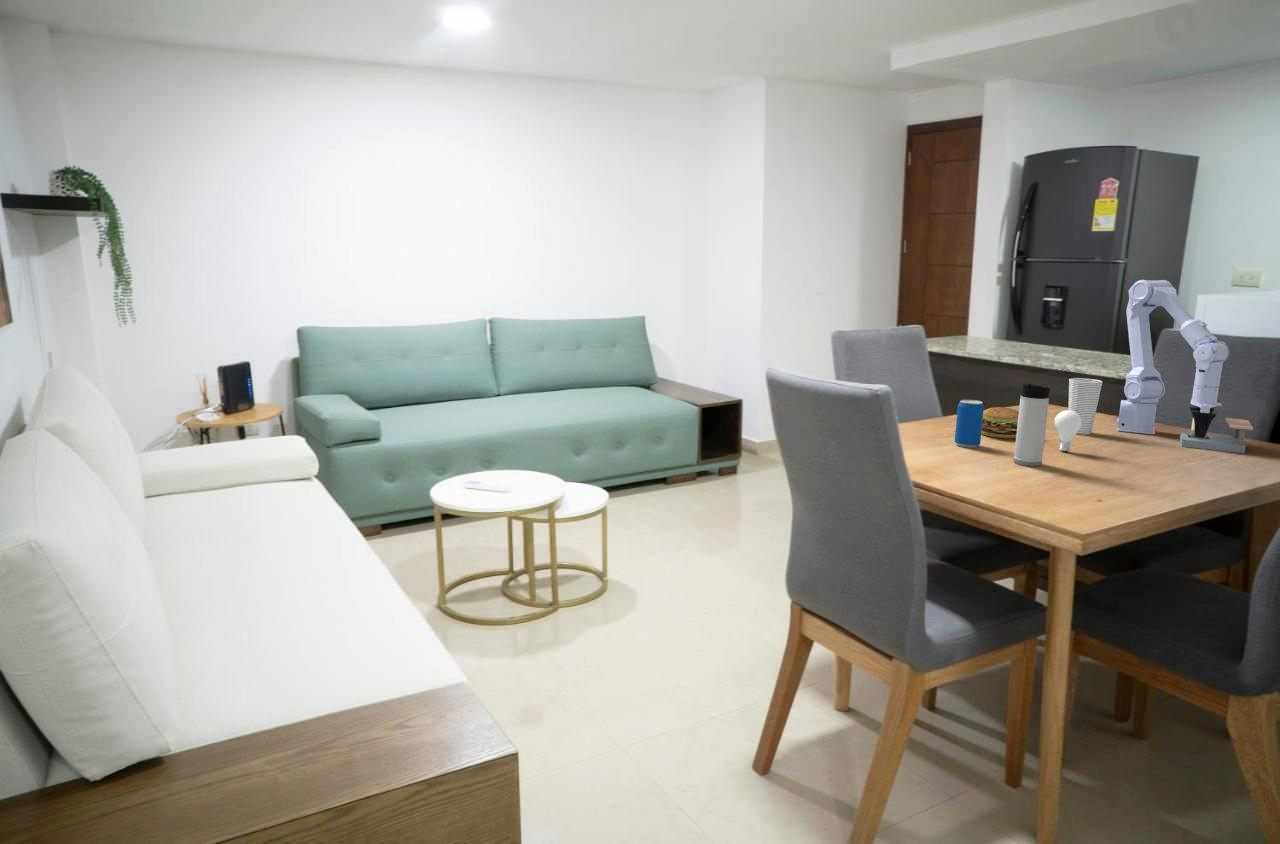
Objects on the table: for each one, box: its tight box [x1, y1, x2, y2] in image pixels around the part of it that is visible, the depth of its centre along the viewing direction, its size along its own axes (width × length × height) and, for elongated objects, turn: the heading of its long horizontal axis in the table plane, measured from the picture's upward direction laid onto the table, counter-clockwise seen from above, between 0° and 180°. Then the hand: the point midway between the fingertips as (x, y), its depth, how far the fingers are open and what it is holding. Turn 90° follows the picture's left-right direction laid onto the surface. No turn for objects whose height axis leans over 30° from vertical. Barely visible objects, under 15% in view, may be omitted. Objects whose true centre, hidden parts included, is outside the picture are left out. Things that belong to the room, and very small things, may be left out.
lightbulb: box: [1053, 409, 1082, 453], centre depth 217 cm, size 6×6×11 cm
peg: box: [1190, 417, 1208, 439], centre depth 229 cm, size 4×4×8 cm
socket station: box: [1178, 417, 1254, 454], centre depth 227 cm, size 15×13×7 cm
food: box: [981, 406, 1019, 440], centre depth 236 cm, size 14×14×8 cm
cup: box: [1067, 377, 1103, 436], centre depth 241 cm, size 8×8×16 cm
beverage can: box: [954, 399, 985, 449], centre depth 222 cm, size 6×6×12 cm
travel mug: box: [1013, 382, 1051, 467], centre depth 202 cm, size 6×7×20 cm
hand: (1198, 434), depth 229 cm, fingers open, 6 cm apart
